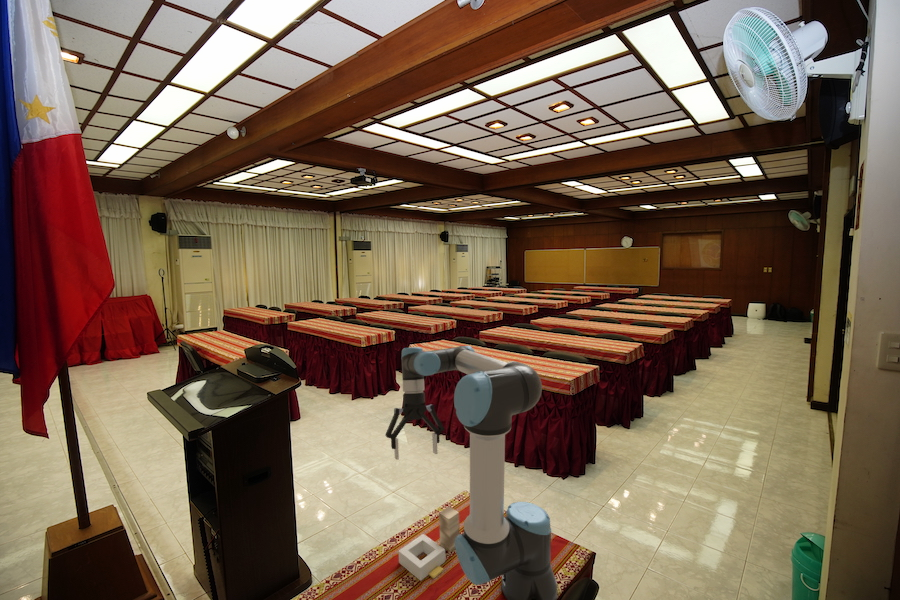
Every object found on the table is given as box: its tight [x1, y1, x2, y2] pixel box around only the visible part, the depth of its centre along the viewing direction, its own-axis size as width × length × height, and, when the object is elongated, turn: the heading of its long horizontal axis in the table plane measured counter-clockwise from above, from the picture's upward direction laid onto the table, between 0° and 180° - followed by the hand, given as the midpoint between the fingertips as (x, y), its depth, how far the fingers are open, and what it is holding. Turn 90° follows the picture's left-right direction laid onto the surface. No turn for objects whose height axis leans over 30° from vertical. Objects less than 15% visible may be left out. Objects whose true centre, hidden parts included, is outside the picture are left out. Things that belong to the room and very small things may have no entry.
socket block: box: [398, 533, 446, 582], centre depth 120 cm, size 12×10×4 cm
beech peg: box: [438, 506, 461, 552], centre depth 128 cm, size 4×4×11 cm
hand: (416, 456), depth 136 cm, fingers open, 13 cm apart
